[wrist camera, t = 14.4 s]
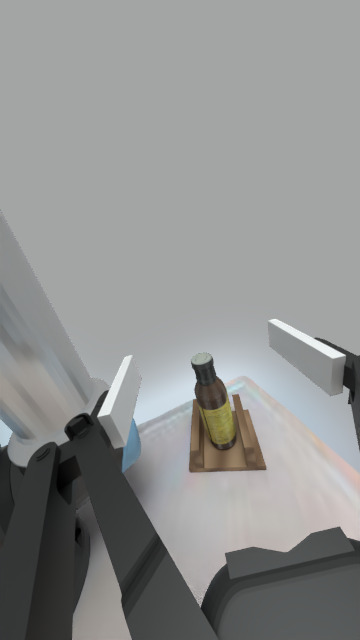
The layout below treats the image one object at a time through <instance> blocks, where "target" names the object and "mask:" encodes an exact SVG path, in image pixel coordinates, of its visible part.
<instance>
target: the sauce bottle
mask: <svg viewBox="0 0 360 640" xmlns="http://www.w3.org/2000/svg"><path fill="white" fill-rule="evenodd" d="M191 364H192V368H193V369H194V370H195V374H196V379H197V383H196V385H195V395H196V398H197V403H198V406H199V410H200V413H201V416H202V419H203V423H204V426H205V429H206V432H207V435H208V437H209V440H210V442H211V443H212V445H213V446H214V447H216V448H217V449H228V448H230V447H231V446H233V445H234V443H235V441H236V437H237V436H236V427H235V423H234V419H233V415H232V411H231V407H230V402H229V399H228V395H227V391H226V388H225V386H224V383H223V382H222V381H221V379H219V378H218V377H217V376H216V373H215V370H214V366H213V358H212V356H211V355H210V354H209V353H199V354H197V355H195V356H193V358H192V359H191Z"/></svg>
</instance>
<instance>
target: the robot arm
mask: <svg viewBox="0 0 360 640" xmlns="http://www.w3.org/2000/svg"><path fill="white" fill-rule="evenodd" d="M268 331H269V344H270V347H271V348H272V349H274V350H275V351H276V352H277V353H279V354H280V355H281V356H282V357H283V358H285V359H286V360H287V361H288V362H289V363H291V364H292V365H293V366H294V367H296V368H297V369H298V370H299V371H301V372H302V373H303V374H304V375H305V376H306V377H308V378H309V379H310V380H312V381H313V382H314V383H315V384H316V385H317V386H319V387H320V388H321V389H322V390H324V391H325V392H326V393H327V394H328V395H330V396H333V395H337V394H341V393H343V385H344V386H345V387H347V388H349V389H350V391H349V400H348V404H351V407H352V412H353V417H354V423H355V428H356V434H357V439H358V444H359V450H360V356H356V355H354V354H352V353H350V352H348V351H346V350H344V349H342V348H340V347H337V346H336V345H334V344H332V343H330V342H328V341H326V340H323V339H320V338H312V337H310V336H308V335H306V334H304V333H302V332H300V331H298V330H296V329H294V328H293V327H291V326H289V325H287V324H285V323H283V322H281V321H279V320H277V319H273V320H269V321H268ZM141 379H142V378H141V375H140V373H139V370H138V368H137V365H136V363H135V360H134V358H133V355H130V356H127V357H125V358H124V360H123V362H122V364H121V367H120V368H119V371H118V373H117V375H116V377H115V379H114V381H113V384H112V386H111V387H109V385H108V384H107V383H106V382H105V381H103V380H101V379H98V378H91V377H90V375H89V373H88V372H87V370H86V368H85V366H84V364H83V362H82V360H81V359H80V357H79V355H78V353H77V351H76V350H75V348H74V346H73V344H72V342H71V340H70V338H69V336H68V335H67V333H66V331H65V329H64V327H63V325H62V323H61V321H60V320H59V318H58V316H57V314H56V312H55V310H54V308H53V307H52V305H51V303H50V301H49V299H48V297H47V296H46V294H45V292H44V290H43V288H42V286H41V284H40V282H39V281H38V279H37V277H36V275H35V273H34V271H33V269H32V268H31V266H30V264H29V262H28V260H27V258H26V256H25V255H24V253H23V251H22V249H21V247H20V245H19V243H18V242H17V240H16V238H15V236H14V234H13V232H12V230H11V229H10V227H9V225H8V223H7V221H6V219H5V217H4V216H3V214H2V212H1V210H0V419H1V420H2V421H3V422H4V423H5V424H6V425H7V426H8V427H9V428H10V429H11V430H12V431H13V433H12V435H11V437H10V440H9V443H8V445H6V446H4V447H1V445H0V640H72V618H73V612H74V610H75V607H76V605H77V602H78V599H79V596H80V593H81V590H82V587H83V584H84V580H85V577H86V572H87V567H88V562H89V553H90V539H89V533H88V530H87V527H86V525H85V524H84V522H83V521H82V520H81V518H80V517H79V516H78V515H77V514H76V510H77V509H79V508H80V507H81V506H82V505H84V504H85V503H86V502H87V501H89V500H91V503H92V506H93V509H94V512H95V515H96V518H97V521H98V524H99V527H100V530H101V533H102V536H103V539H104V541H105V544H106V547H107V550H108V553H109V556H110V559H111V562H112V565H113V568H114V571H115V574H116V577H117V580H118V583H119V586H120V589H121V593H122V599H121V603H122V608H123V612H124V615H125V619H126V622H127V625H128V628H129V632H130V635H131V638H132V640H360V541H357V540H354V539H350V538H347V537H346V535H345V534H344V532H343V531H342V529H341V528H340V527H336V528H332V529H328V530H323V531H319V532H315V533H311V534H310V535H309V536H307V537H306V538H305V539H304V540H303V541H301V542H300V543H299V544H298V545H297V546H295V547H294V548H293V549H292V550H290V551H289V552H279V551H273V550H268V549H262V548H257V547H250V548H246V549H241V550H237V551H233V552H228V553H225V556H226V561H227V564H226V565H225V566H223V567H222V568H221V569H220V570H219V571H218V573H217V574H216V575H215V577H214V578H213V580H212V581H211V583H210V585H209V587H208V589H207V591H206V594H205V596H204V599H203V602H202V605H201V608H200V606H199V605H198V603H197V601H196V599H195V598H194V596H193V594H192V593H191V591H190V589H189V587H188V586H187V584H186V582H185V580H184V579H183V577H182V575H181V573H180V572H179V570H178V568H177V566H176V565H175V563H174V561H173V560H172V558H171V556H170V554H169V553H168V551H167V549H166V547H165V546H164V544H163V542H162V541H161V539H160V537H159V535H158V534H157V532H156V530H155V529H154V527H153V525H152V523H151V522H150V520H149V518H148V516H147V515H146V513H145V511H144V509H143V508H142V506H141V504H140V502H139V501H138V499H137V497H136V496H135V494H134V492H133V490H132V489H131V487H130V485H129V483H128V482H127V480H126V478H125V476H124V475H123V473H124V471H126V470H127V469H128V468H129V467H130V466H131V465H132V464H134V463H135V462H136V461H137V459H138V458H139V456H140V452H141V443H140V438H139V434H138V430H137V427H136V424H135V421H134V419H133V414H134V409H135V405H136V401H137V396H138V392H139V388H140V383H141Z"/></svg>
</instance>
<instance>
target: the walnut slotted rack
mask: <svg viewBox="0 0 360 640" xmlns="http://www.w3.org/2000/svg"><path fill="white" fill-rule="evenodd" d="M232 397H233V401H234V406H235V411H232V415H233V419H234V423H235V427H236V436H237V437H236V441H235V443H234V445H233V446H231V447H230V448H228V449H217V448H216V447H214V446H213V445H212V443H211V442H210V440H209V437H208V435H207V432H206V429H205V426H204V423H203V419H202V416H201V413H200V410H199V406H198V403H197V399H194V400H193V414H192V425H191V444H190V462H189V470H190V472H213V471H243V470H266V465H265V462H264V459H263V456H262V452H261V449H260V446H259V443H258V440H257V437H256V433H255V430H254V427H253V424H252V421H251V417H250V414H249V411H248V410H243V408H242V404H241V401H240V397H239V394H237V395H232Z"/></svg>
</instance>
